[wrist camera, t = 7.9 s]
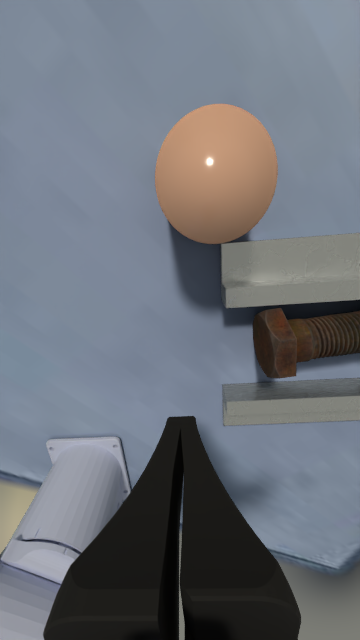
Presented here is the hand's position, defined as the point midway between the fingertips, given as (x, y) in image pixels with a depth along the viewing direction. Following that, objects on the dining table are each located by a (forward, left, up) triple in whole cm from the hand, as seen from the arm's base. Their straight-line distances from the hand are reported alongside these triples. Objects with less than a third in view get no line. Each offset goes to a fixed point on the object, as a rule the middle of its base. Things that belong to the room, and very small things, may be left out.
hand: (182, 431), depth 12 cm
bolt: (+1, -14, -10) cm, 17 cm away
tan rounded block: (+12, -2, -10) cm, 16 cm away
